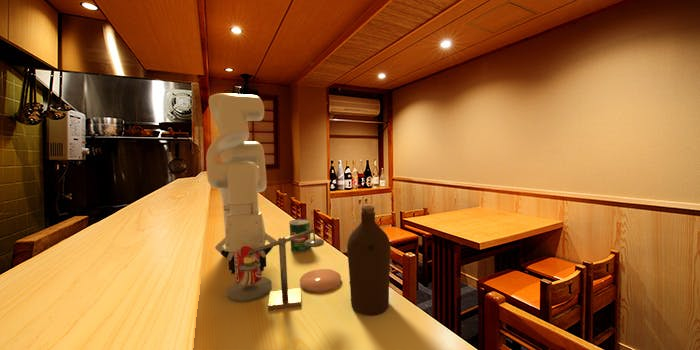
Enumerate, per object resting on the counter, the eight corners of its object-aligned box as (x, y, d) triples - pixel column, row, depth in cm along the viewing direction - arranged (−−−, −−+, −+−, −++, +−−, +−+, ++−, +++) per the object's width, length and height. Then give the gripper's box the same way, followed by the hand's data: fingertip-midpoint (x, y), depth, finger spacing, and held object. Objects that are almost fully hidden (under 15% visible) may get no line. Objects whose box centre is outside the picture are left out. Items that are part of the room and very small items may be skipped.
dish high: (299, 275, 88) (299, 271, 88) (337, 270, 90) (337, 267, 90) (300, 294, 76) (300, 290, 76) (344, 289, 79) (343, 285, 79)
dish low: (231, 282, 84) (231, 279, 84) (273, 278, 87) (273, 274, 86) (221, 304, 73) (221, 300, 72) (270, 298, 75) (269, 294, 75)
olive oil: (400, 307, 69) (399, 207, 67) (365, 323, 63) (363, 214, 61) (373, 289, 78) (371, 201, 75) (340, 302, 72) (337, 206, 70)
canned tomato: (307, 244, 116) (306, 218, 115) (314, 250, 109) (312, 222, 108) (288, 247, 112) (286, 220, 111) (294, 254, 105) (292, 225, 104)
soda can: (254, 289, 75) (251, 245, 74) (230, 287, 77) (227, 244, 75) (266, 276, 82) (264, 236, 81) (245, 275, 84) (242, 235, 82)
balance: (244, 299, 75) (239, 230, 73) (324, 289, 79) (322, 224, 77) (239, 314, 68) (234, 239, 66) (327, 302, 72) (324, 231, 70)
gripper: (205, 214, 72) (211, 280, 74) (276, 209, 75) (279, 273, 77) (214, 208, 79) (218, 268, 81) (277, 203, 82) (280, 262, 84)
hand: (248, 270), depth 79 cm, fingers closed on soda can, 7 cm apart
